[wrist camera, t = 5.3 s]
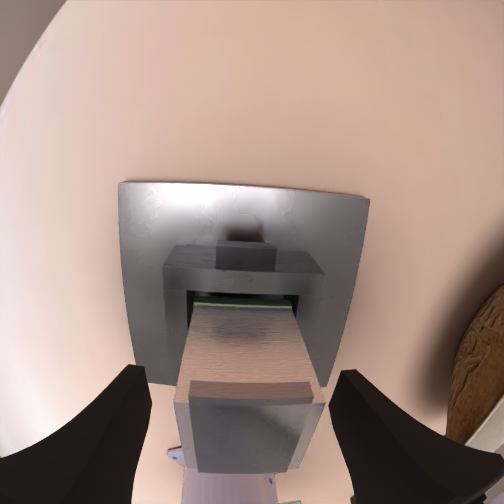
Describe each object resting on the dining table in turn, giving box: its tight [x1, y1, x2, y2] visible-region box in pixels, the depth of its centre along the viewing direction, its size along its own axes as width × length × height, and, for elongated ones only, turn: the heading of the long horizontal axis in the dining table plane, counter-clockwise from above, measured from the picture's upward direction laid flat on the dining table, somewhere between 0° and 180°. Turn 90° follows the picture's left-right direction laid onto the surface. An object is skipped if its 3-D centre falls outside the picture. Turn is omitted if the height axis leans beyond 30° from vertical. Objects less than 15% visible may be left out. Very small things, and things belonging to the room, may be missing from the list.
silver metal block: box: [174, 296, 326, 474], centre depth 10 cm, size 5×4×6 cm
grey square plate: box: [118, 181, 370, 387], centre depth 14 cm, size 13×13×4 cm
